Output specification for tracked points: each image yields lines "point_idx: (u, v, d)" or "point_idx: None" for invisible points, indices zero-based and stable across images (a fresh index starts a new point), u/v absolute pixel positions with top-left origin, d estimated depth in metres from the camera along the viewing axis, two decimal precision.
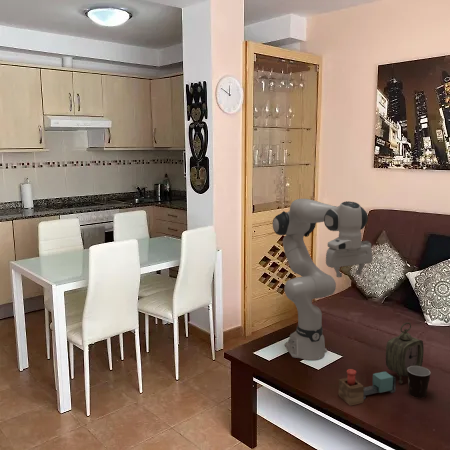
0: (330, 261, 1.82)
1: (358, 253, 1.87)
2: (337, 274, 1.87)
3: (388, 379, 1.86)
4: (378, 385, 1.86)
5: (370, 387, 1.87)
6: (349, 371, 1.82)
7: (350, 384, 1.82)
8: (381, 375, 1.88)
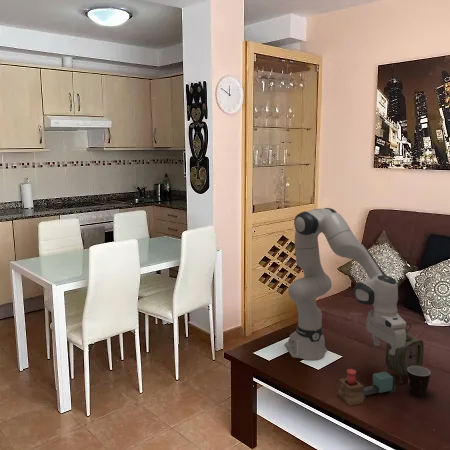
0: (405, 341, 1.76)
1: None
2: (393, 352, 1.81)
3: (388, 379, 1.86)
4: (378, 385, 1.86)
5: (370, 387, 1.87)
6: (349, 371, 1.82)
7: (350, 384, 1.82)
8: (381, 375, 1.88)
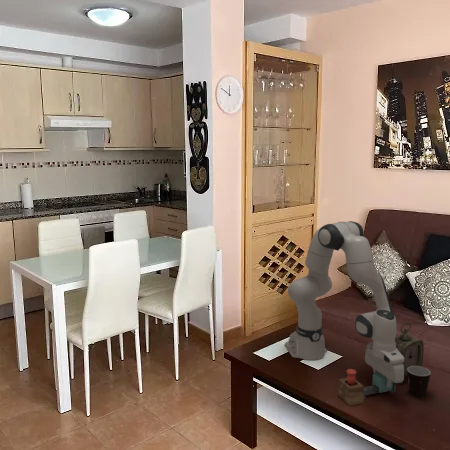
0: (403, 376, 1.79)
1: None
2: (388, 384, 1.85)
3: None
4: (378, 385, 1.86)
5: (370, 387, 1.87)
6: (349, 371, 1.82)
7: (350, 384, 1.82)
8: (381, 375, 1.88)
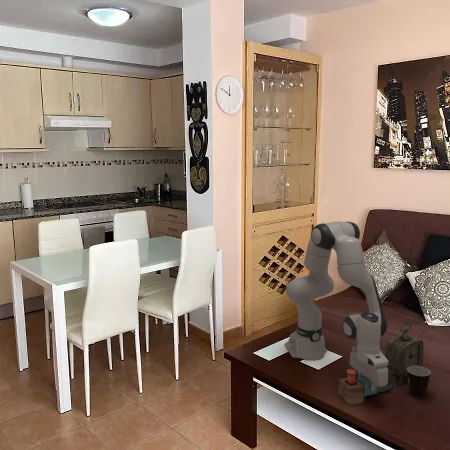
0: (387, 379, 1.76)
1: None
2: (373, 388, 1.82)
3: None
4: None
5: None
6: (349, 371, 1.82)
7: (350, 384, 1.82)
8: (366, 378, 1.86)
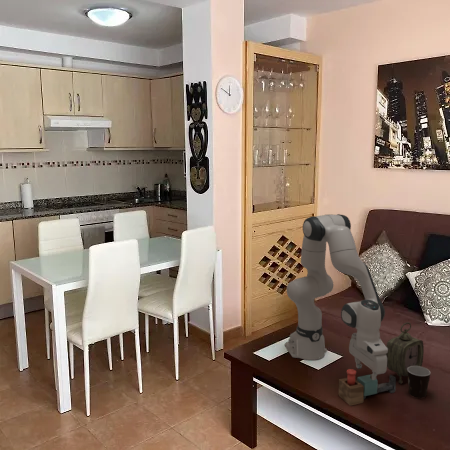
0: (386, 367, 1.76)
1: None
2: (374, 377, 1.81)
3: (372, 382, 1.84)
4: None
5: None
6: (349, 371, 1.82)
7: (350, 384, 1.82)
8: (366, 378, 1.86)
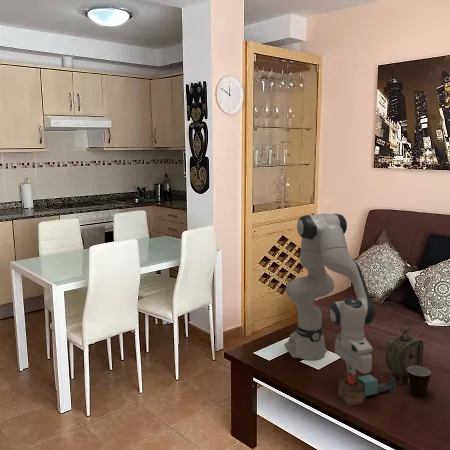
0: (371, 366, 1.73)
1: None
2: (353, 372, 1.81)
3: (372, 382, 1.84)
4: None
5: None
6: (349, 374, 1.82)
7: None
8: (366, 378, 1.86)
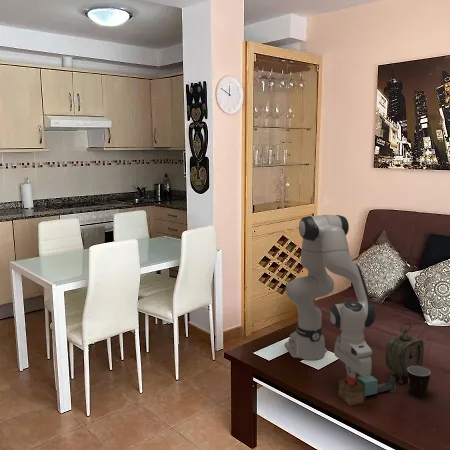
0: None
1: None
2: (353, 375, 1.81)
3: (372, 382, 1.84)
4: None
5: None
6: (349, 377, 1.83)
7: None
8: (366, 378, 1.86)
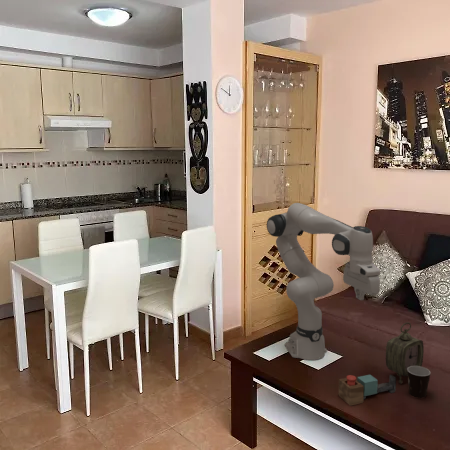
0: (379, 288, 1.81)
1: None
2: (361, 297, 1.89)
3: (372, 382, 1.84)
4: None
5: None
6: (349, 377, 1.83)
7: None
8: (366, 378, 1.86)
